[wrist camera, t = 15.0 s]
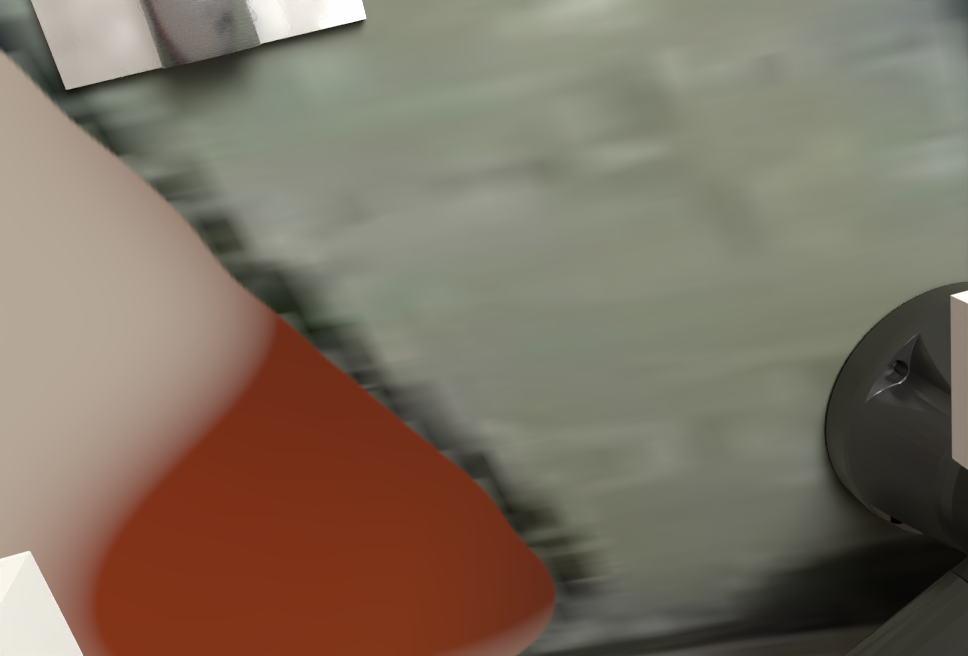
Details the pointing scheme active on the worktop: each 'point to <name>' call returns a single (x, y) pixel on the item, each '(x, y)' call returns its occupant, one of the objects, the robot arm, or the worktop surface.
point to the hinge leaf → (171, 31)
